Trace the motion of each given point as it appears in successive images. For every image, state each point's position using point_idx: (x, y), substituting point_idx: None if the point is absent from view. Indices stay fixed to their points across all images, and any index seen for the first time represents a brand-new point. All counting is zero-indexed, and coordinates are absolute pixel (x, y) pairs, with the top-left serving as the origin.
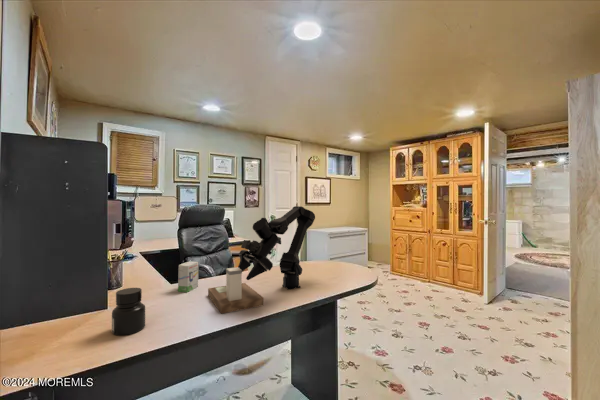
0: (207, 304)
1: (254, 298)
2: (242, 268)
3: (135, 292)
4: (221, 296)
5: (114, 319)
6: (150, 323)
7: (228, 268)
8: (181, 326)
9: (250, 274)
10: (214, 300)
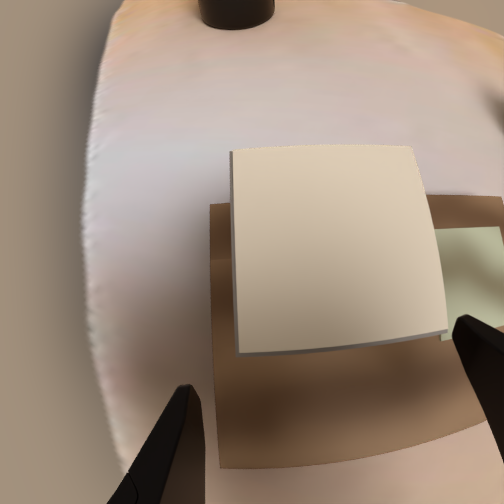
0: None
1: (229, 418)
2: (500, 403)
3: None
4: None
5: None
6: (253, 36)
7: (413, 171)
8: (179, 93)
9: (153, 441)
10: None
